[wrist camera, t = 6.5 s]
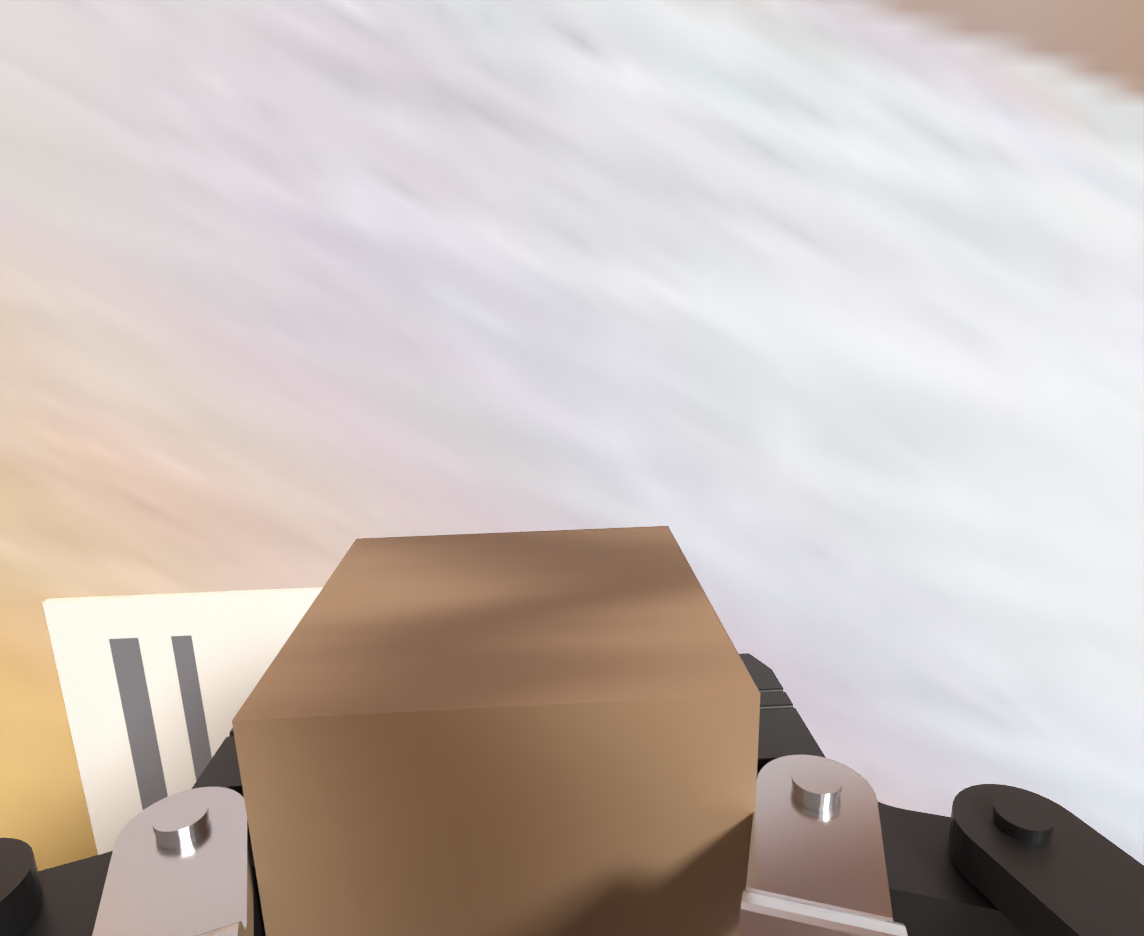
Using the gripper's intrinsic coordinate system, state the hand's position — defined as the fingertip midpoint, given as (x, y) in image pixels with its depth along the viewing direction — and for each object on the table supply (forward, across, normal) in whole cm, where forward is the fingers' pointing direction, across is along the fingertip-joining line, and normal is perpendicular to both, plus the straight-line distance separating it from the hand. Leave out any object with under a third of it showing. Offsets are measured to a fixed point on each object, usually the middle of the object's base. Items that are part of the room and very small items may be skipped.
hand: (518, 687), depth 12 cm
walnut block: (0, 0, 0) cm, 0 cm away
